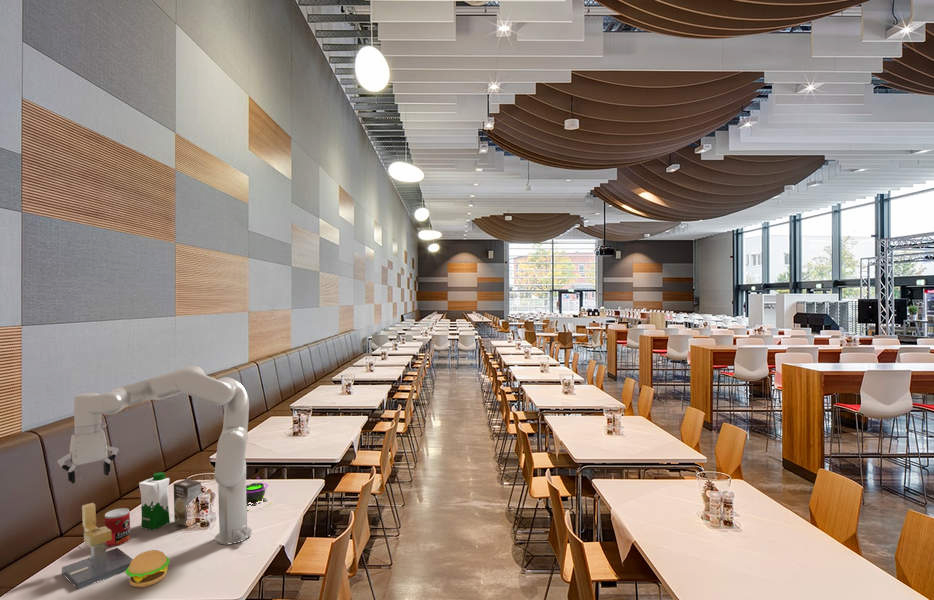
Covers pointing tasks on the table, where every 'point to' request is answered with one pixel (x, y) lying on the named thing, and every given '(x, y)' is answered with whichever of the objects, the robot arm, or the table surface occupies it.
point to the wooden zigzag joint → (93, 527)
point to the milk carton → (155, 501)
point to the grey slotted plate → (97, 566)
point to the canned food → (118, 526)
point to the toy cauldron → (255, 493)
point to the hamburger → (147, 568)
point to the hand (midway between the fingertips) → (89, 478)
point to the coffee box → (184, 498)
